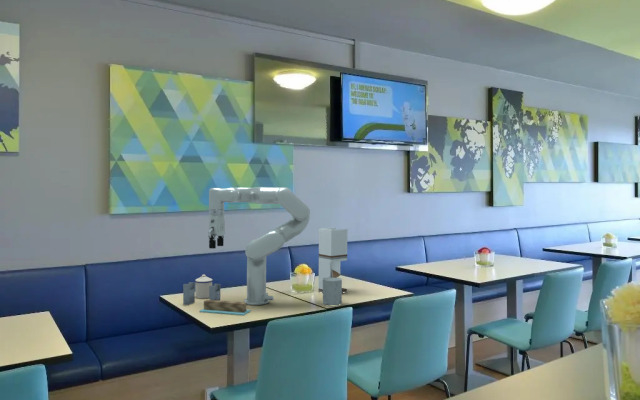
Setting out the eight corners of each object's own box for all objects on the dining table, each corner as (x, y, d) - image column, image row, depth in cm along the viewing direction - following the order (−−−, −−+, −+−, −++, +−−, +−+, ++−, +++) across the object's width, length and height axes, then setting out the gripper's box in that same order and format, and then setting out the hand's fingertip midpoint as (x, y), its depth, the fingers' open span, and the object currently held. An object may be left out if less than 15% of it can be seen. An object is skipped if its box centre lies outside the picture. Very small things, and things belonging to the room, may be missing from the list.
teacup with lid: (214, 298, 262) (214, 275, 261) (196, 299, 258) (196, 276, 258) (209, 293, 273) (209, 271, 272) (192, 294, 269) (192, 273, 269)
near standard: (220, 304, 248) (220, 284, 248) (214, 307, 242) (214, 286, 242) (214, 303, 249) (214, 283, 248) (209, 306, 243) (209, 286, 243)
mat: (250, 311, 235) (250, 309, 235) (243, 315, 227) (243, 314, 227) (207, 307, 240) (207, 306, 240) (199, 312, 233) (199, 310, 233)
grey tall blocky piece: (331, 295, 269) (331, 230, 268) (318, 292, 278) (318, 228, 276) (346, 292, 276) (347, 229, 275) (334, 289, 285) (334, 227, 284)
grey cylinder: (328, 307, 244) (328, 281, 244) (319, 302, 252) (319, 278, 252) (345, 305, 248) (345, 280, 248) (335, 300, 257) (336, 276, 256)
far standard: (194, 302, 252) (194, 282, 251) (188, 305, 246) (188, 284, 246) (189, 302, 252) (189, 282, 252) (183, 304, 247) (183, 284, 246)
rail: (246, 310, 233) (246, 302, 233) (243, 312, 230) (243, 303, 230) (207, 307, 238) (207, 299, 238) (203, 309, 235) (203, 301, 235)
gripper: (216, 213, 241) (216, 249, 241) (230, 212, 258) (230, 245, 258) (202, 213, 242) (201, 249, 243) (216, 211, 259) (216, 244, 260)
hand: (216, 247), depth 250 cm, fingers open, 9 cm apart
